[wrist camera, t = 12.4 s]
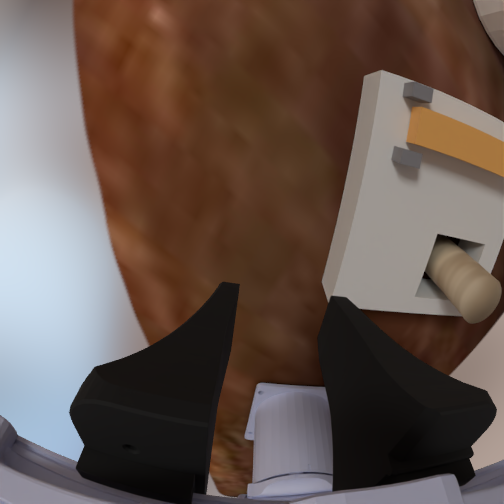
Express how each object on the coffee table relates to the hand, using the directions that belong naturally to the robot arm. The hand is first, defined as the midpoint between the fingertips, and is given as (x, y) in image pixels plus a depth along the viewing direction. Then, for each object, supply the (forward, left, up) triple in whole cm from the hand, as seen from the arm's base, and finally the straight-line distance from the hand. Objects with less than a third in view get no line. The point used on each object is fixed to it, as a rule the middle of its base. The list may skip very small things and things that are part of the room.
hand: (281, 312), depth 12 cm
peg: (0, -12, -9) cm, 15 cm away
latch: (+8, -10, -6) cm, 14 cm away
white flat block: (+4, -10, -9) cm, 14 cm away
